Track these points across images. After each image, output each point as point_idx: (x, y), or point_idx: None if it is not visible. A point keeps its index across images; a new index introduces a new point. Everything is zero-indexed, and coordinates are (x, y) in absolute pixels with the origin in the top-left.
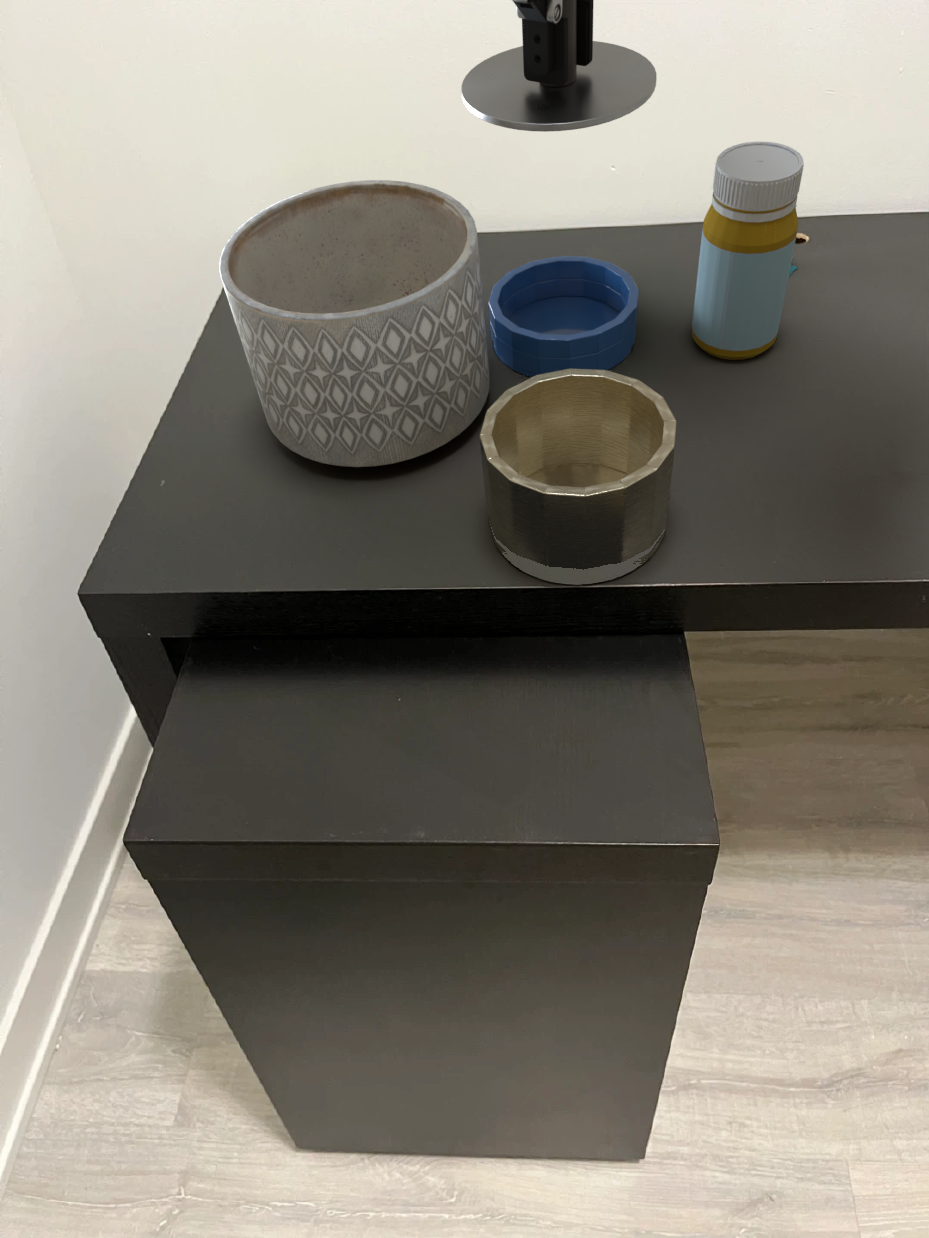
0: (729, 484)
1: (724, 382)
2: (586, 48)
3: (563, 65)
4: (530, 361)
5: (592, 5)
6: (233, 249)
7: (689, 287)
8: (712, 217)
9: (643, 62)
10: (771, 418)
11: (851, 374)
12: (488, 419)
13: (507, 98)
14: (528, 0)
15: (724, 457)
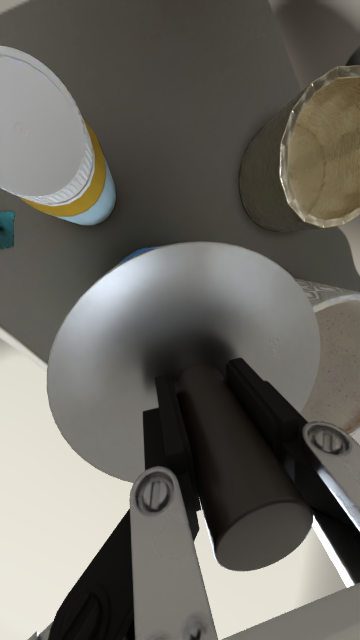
0: (217, 106)
1: (131, 169)
2: (174, 389)
3: (253, 371)
4: None
5: (169, 444)
6: (352, 429)
7: (53, 259)
8: (91, 190)
9: (76, 325)
10: (144, 113)
11: (57, 74)
12: (350, 217)
13: None
14: None
15: (197, 124)
